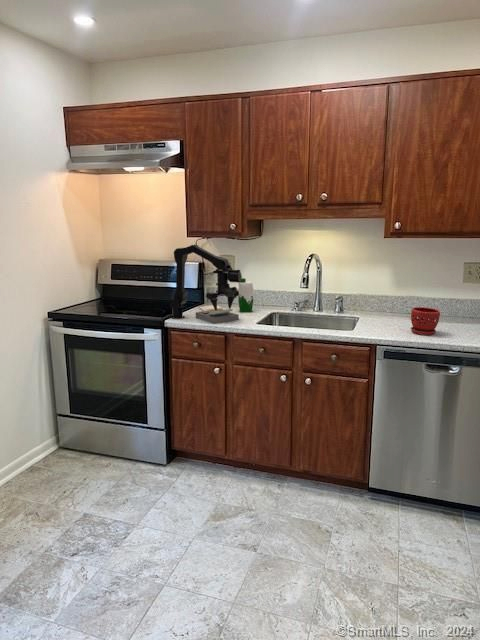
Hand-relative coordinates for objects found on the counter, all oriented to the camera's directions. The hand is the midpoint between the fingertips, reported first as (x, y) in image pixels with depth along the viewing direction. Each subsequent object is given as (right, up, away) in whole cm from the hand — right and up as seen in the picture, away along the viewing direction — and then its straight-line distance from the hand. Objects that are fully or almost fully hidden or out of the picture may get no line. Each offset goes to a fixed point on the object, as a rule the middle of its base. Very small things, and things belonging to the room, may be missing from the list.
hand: (222, 309), depth 258 cm
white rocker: (-7, -1, +10) cm, 13 cm away
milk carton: (+13, -1, +27) cm, 30 cm away
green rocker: (-1, -2, +2) cm, 3 cm away
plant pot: (+101, -12, -28) cm, 105 cm away
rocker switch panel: (-4, -5, +6) cm, 9 cm away
